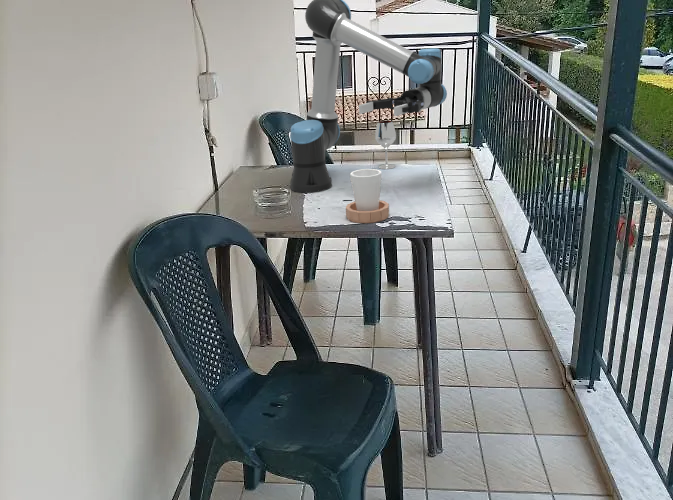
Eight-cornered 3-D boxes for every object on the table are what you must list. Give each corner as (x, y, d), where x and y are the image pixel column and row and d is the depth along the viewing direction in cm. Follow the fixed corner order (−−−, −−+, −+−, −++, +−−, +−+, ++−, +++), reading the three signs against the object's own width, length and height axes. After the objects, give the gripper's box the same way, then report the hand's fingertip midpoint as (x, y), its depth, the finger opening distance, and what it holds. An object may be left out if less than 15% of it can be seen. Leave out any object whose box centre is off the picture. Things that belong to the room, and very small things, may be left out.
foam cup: (361, 220, 191) (359, 178, 186) (347, 213, 199) (344, 172, 194) (388, 214, 195) (387, 173, 190) (373, 207, 203) (371, 167, 198)
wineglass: (397, 169, 249) (396, 123, 243) (377, 170, 250) (374, 124, 243) (396, 164, 257) (394, 119, 250) (376, 165, 257) (374, 120, 251)
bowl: (338, 219, 197) (337, 208, 195) (364, 207, 206) (363, 197, 204) (371, 225, 189) (371, 214, 187) (397, 213, 198) (396, 203, 196)
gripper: (447, 113, 207) (410, 125, 193) (385, 109, 223) (346, 120, 208) (447, 89, 205) (410, 100, 190) (384, 87, 220) (345, 96, 205)
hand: (376, 110), depth 199 cm, fingers open, 13 cm apart
